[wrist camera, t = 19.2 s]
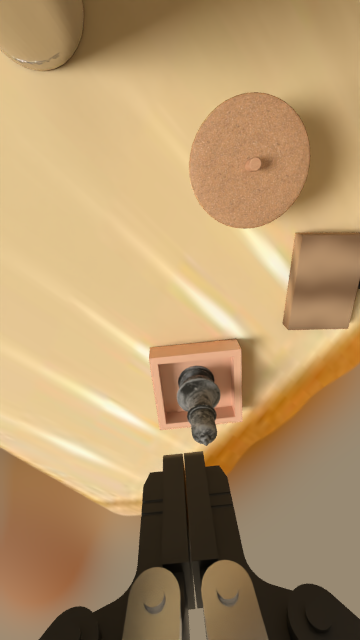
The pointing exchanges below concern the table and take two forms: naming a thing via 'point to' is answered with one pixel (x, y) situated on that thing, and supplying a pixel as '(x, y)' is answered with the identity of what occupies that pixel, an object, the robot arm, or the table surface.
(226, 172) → the lidded jar
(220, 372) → the tray
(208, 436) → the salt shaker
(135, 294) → the table surface
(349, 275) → the bronze block
